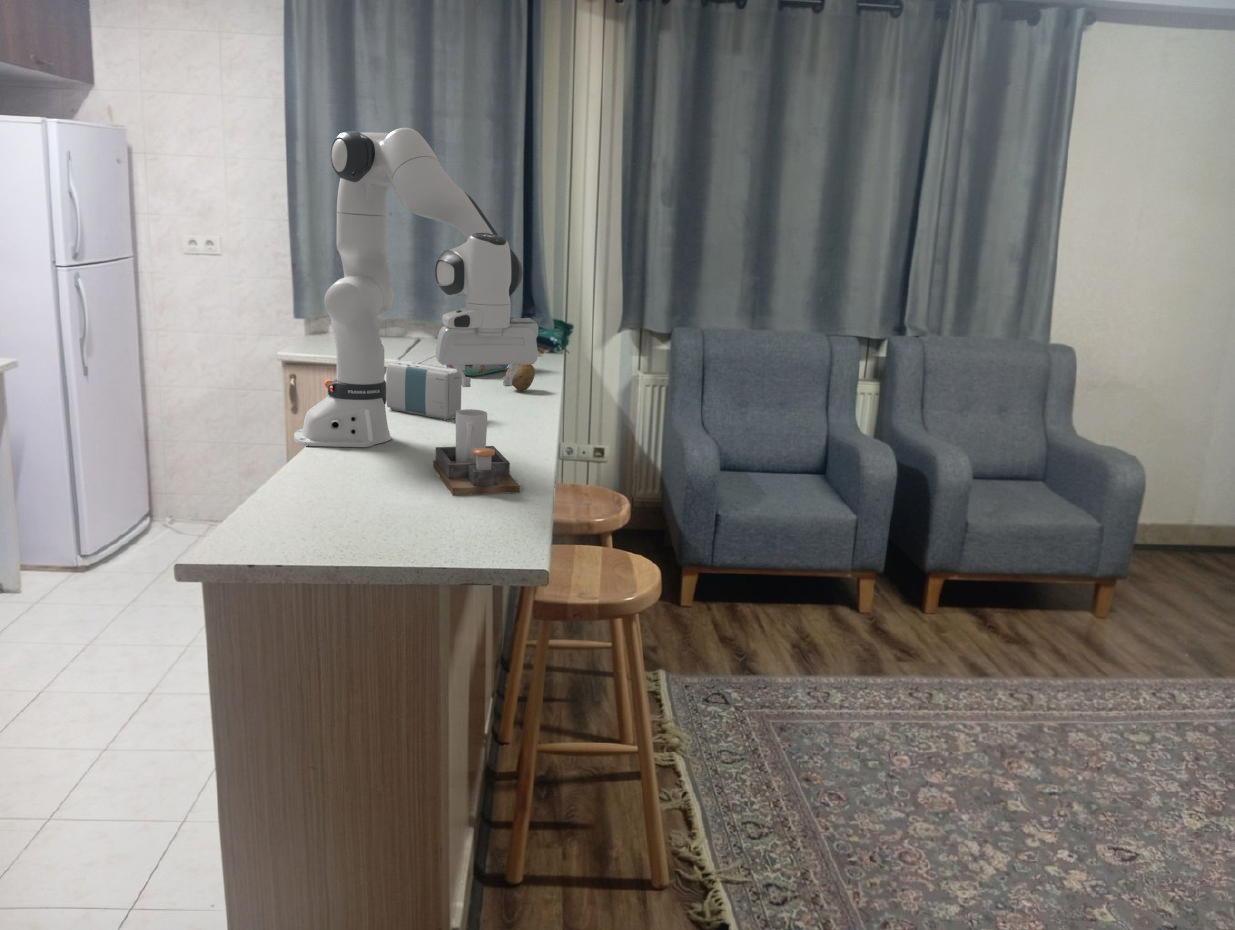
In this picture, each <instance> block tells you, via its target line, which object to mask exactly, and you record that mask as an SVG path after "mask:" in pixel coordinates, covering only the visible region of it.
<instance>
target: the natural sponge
mask: <svg viewBox="0 0 1235 930" xmlns="http://www.w3.org/2000/svg"><path fill="white" fill-rule="evenodd" d="M510 370H511V369H510V368H509V367H508V369H507V371H506V372H505V377H507V375H508V374H509V372H510ZM535 376H536V370H535V367H534V364H518V370H517V372H516V374H515V375H514V377H513V378H512V386H511V387H514V388H515V389H516V390H517V391H519V392H525V391H527V390H528V389H529V388H530V386H531V385H532V384H533V382H534V379H535Z"/></svg>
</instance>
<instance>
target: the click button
mask: <svg viewBox="0 0 1235 930" xmlns="http://www.w3.org/2000/svg"><path fill="white" fill-rule="evenodd" d="M473 455H475V456H476V469H477V470H491V458H492V456H494V455H495V450H494V449H491V448H476V449H473Z"/></svg>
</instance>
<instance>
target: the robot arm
mask: <svg viewBox="0 0 1235 930" xmlns="http://www.w3.org/2000/svg"><path fill="white" fill-rule="evenodd" d="M330 162H331V166H332V168H333V171H334V172H335V174H336V175H337V177H338V178H339V183H338V188H337V197H336V198H337V199H336V249H337V251H338V253H339V256H340V259H341V265H342V269H343V277H342V278H339V279H337V280H336V281H335V282H334V283H333V284H332V285H330V287H329V288H328V289H327V291H326V292H325V295H324V301H323V304H324V305H323V306H324V309H325V311H326V314H327V315H328V316H329V318H330V323H331V329H332V332H333V337H334V344H335V354H336V356H335V357H336V379H334V380H332V379H326V380H325V381H324V386H325V387H326V389H327V396H326V397H324V398H323V399H322V400H320V401H319V402H318V403H316V404H315V405H314V406H312V407H310V409H308V410H307V412H306V414H305V417H304V421H303V427H302V428H300V429H298V430H296V431H295V432H294V434H293V440H294V443H297V444H298V445H300V446H304V447H334V448H335V447H336V448H337V447H339V448H340V447H346V448H348V447H350V448H369V447H372V446H375V445H377V444H381V443H386V442H389V441H390V440H391V439H392V436H391V433H390V430H389V425H388V419H387V412H386V411H387V410H386V405H387V403H386V400H387V386H386V379H385V346H384V345H383V343H382V340H381V335H380V330H379V325H378V324H379V323H378V319H380V318H381V317H383V316H385V314H387V312H388V311H389V310H390V309H391V307H392V305H393V303H394V300H395V299H394V298H395V293H394V289H393V287H392V285H391V276H390V271H389V265H388V264H389V263H388V257H387V194H388V191H389V190H390V189H391V188H392V187H393V189H394V191H395V194H396V196H397V197H398V199H399V201H400V203H401V204H402V205H403V206H404V207H405V208H406V209H407V210H408V211H410V212H411V213H413V214H415V215H416V216H420V217H422V218H426V219H430V220H433V221H438V222H442V223H445V224H447V225H449V226H451V227H453V228H455V229H457V230H458V231H460V232H461V233H462V234H463V235H464V236H465V238H466V239H467V240H466V241H465V242H464V243H462V244H461V245H459V246H456V247H454V248H450V249H446V250H444V251H443V252H442V253H441V254H440V255H439V257H438V258H437V261H436V263H435V268H434V273H435V281H436V283H437V285H438V287H439V288H440V290H441V291H442V292H443V293H444V294H446V295H448V296H452V297H466V299H465V307H463V308H459V309H456V310H453V311H449V312H446V313H444V314H443V315H442V318H441V319H442V324H443V325H444V326H442V327H441V328H440V329H439V332H438V334H437V339H436V340H437V341H436V347H435V348H436V349H435V354H436V356H435V358H436V361H437V362H438V364H439V363H440V364H441V365H442V366H446V365H456V369H457V371H458V373H459V374H460V376H461V377H462V385H461V388H462V387H463V388H471V387H472V385H471V380H472V379H471V377H470V376H467V375H465V374H464V373H463V371H462V370H465V365H491V364H509V365H508V369H509V368H510V369H511V370H510V372H509V374H508V375H507V377H506V376H503V377H502V381H503V382H502V384H503V386H504V387H513V386H512V378H513V377H514V375H515V374H516V372H517V370H518V364H532V365H534V364H536V362H537V360H538V358H539V355H538V352H539V351H538V344H537V342H538V341H537V338H538V336H539V325H538V323H537V321H536V320H533V319H532V318H530V317H524V318H520V317H511V309H512V308H511V307H512V304H511V303H512V302H511V296H512V295H513V294H514V293H515V292H516V291H517V289H518V288H519V286H520V285H521V283H522V279H523V276H524V275H523V274H524V273H523V271H524V270H523V267H522V263H521V261H520V259H519V257H518V256H517V255H516V253H515V252H514V250H512V249H511V248H510V245H509V244H510V243H509V241H508V240H507V239H506V238H505V237H504V236H501V235H499V234H498V233H497V231H496V230H495V229H494V227H493V226H492V224H491V223H490V221H489V220H488V219H487V217H486V216H485V214H484V213H483V211H482V209H480V207H479V205H478V204H477V203H476V201H475V200H474V199H473V198H472V197H471V196H470V195H469V194H468V193H467V192H465V191H464V190H463V189H461V188H460V186H458V184H456V183H455V182H454V181H453V180H452V178H450V176H449V175H448V174H447V172H446V171H445V170H444V167H442V165H441V162H440V160H439V159H438V157H437V155H436V153H435V152H434V150H433V149H432V148H431V146H430V145H429V143H428V142H427V140H426V139H425V138H424V137H423V136H422V135H421V134H420V133H419V132H418V131H417V130H415V129H413V128H409V127H400V128H397V129H393V130H392V131H391V132H384V131H383V132H373V131H372V132H371V131H370V132H359V131H356V130H351V131H345V132H341V133H339V134H338V135H337V136H336V137H335V139H334V140H333V142H332V145H331V150H330ZM308 445H309V446H308Z"/></svg>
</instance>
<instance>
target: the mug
mask: <svg viewBox="0 0 1235 930" xmlns="http://www.w3.org/2000/svg"><path fill="white" fill-rule="evenodd" d="M487 429H488V412H487V411H485V410H481V409H474V408H473V409H472V408H471V409H467V408H466V409H461V410H459V411H456V417H455V447H456V463H476V456H475V455H473V449H476V448H486V446H487V432H488V431H487Z"/></svg>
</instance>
